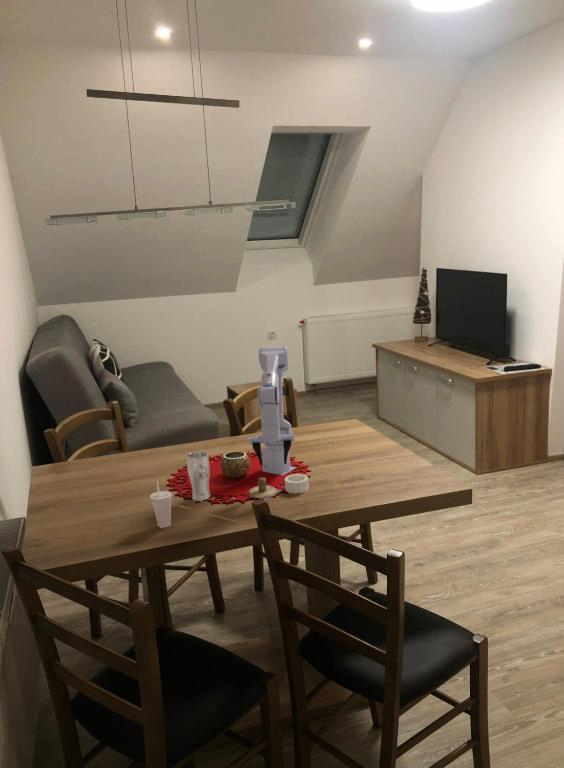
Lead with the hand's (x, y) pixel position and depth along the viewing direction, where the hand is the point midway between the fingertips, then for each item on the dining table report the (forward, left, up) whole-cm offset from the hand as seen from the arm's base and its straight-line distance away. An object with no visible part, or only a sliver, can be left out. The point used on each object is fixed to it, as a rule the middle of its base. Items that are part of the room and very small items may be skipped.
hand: (273, 463), depth 205 cm
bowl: (+5, +5, -10) cm, 12 cm away
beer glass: (-19, -15, -10) cm, 26 cm away
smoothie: (-15, -35, -10) cm, 40 cm away
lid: (-3, -3, -10) cm, 10 cm away
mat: (-3, -3, -10) cm, 11 cm away
